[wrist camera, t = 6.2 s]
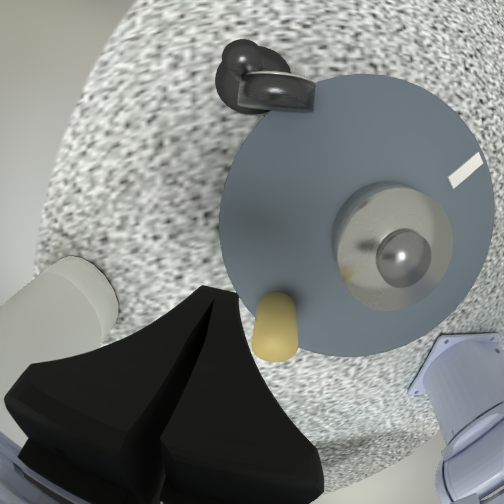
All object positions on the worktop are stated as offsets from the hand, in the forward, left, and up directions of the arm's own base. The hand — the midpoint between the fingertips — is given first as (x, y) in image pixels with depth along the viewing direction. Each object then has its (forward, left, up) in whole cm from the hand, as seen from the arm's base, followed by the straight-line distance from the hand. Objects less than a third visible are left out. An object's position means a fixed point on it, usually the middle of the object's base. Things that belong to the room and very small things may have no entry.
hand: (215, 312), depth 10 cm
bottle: (+14, +8, -10) cm, 19 cm away
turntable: (-8, -1, -8) cm, 11 cm away
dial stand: (0, -9, -9) cm, 13 cm away
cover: (-8, -1, -6) cm, 10 cm away
